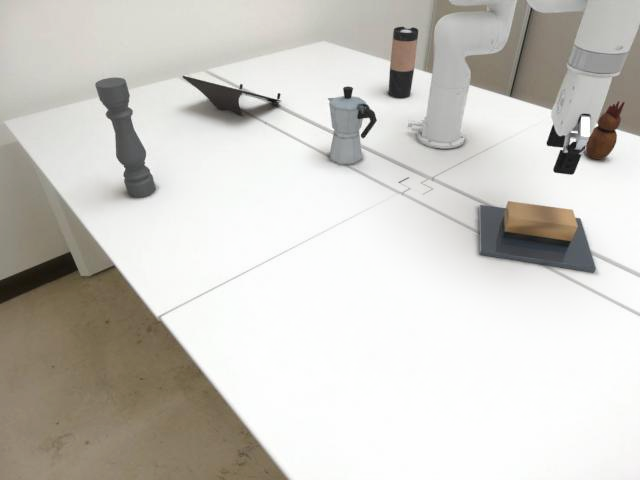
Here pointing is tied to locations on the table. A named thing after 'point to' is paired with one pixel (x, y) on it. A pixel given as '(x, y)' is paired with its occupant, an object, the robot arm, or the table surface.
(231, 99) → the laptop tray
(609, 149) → the wooden figurine
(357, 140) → the coffee maker
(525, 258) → the slate board
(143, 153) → the candle holder
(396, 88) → the travel mug
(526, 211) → the scrub brush
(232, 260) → the table surface
